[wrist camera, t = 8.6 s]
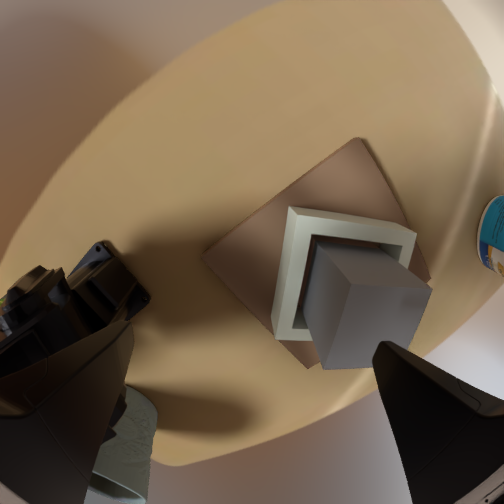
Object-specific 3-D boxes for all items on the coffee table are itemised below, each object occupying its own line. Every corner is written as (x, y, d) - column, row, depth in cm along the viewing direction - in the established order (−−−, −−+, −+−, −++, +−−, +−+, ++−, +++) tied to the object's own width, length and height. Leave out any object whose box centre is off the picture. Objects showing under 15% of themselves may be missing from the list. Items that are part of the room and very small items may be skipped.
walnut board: (305, 362, 24) (307, 369, 23) (202, 253, 20) (200, 257, 19) (425, 274, 21) (431, 278, 21) (353, 138, 18) (358, 137, 17)
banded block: (355, 301, 21) (399, 364, 13) (296, 297, 20) (323, 369, 13) (371, 242, 19) (432, 288, 12) (309, 234, 19) (351, 283, 11)
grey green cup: (146, 379, 24) (115, 475, 13) (176, 431, 28) (163, 511, 16) (74, 374, 24) (33, 448, 13) (109, 425, 28) (86, 492, 16)
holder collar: (368, 320, 21) (382, 340, 19) (270, 316, 21) (274, 339, 18) (395, 222, 19) (417, 233, 16) (288, 205, 18) (297, 214, 15)
